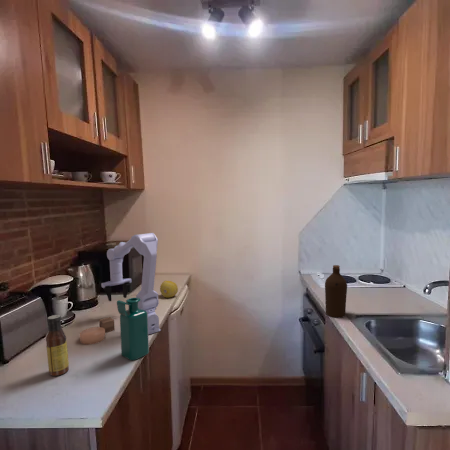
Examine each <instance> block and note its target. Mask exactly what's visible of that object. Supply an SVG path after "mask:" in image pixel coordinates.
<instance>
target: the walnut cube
mask: <svg viewBox="0 0 450 450" xmlns="http://www.w3.org/2000/svg"><path fill="white" fill-rule="evenodd" d="M98 320H99V321H98V323H99V324H98V327H102V328H104V329H105V334H108V333H110V332H111V333H112V332H115V319H113V318H112V317H105V318H102V319H98Z"/></svg>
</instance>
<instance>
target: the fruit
mask: <svg viewBox="0 0 450 450" xmlns="http://www.w3.org/2000/svg"><path fill="white" fill-rule="evenodd" d="M178 291H179V287H178V284H177V283H176V282H175V281H172V280H163V282H161V284H160V287H159V292H160V294H161V295H162V296H163V297H164V298H166V299H169V298H172V297H174V296H176V295H177V293H178Z"/></svg>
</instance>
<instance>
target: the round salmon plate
mask: <svg viewBox="0 0 450 450" xmlns="http://www.w3.org/2000/svg"><path fill="white" fill-rule="evenodd" d="M104 340H106V333H105V329H104V328H102V327H99V326H93V327H88V328H86V329H83V330H81V331H80V332H79V342H80V343H81V344H82V345H95V344H99V343H101V342H103V341H104Z"/></svg>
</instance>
